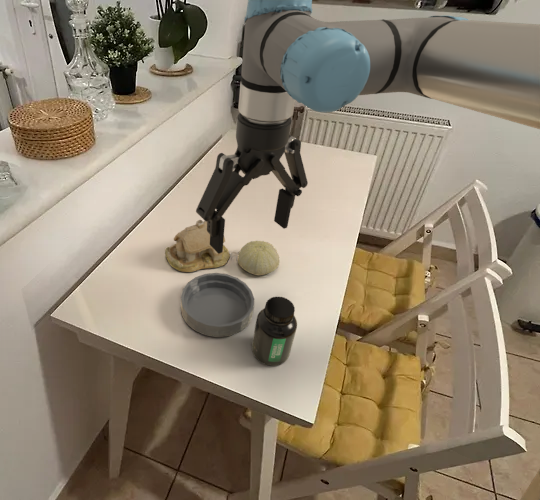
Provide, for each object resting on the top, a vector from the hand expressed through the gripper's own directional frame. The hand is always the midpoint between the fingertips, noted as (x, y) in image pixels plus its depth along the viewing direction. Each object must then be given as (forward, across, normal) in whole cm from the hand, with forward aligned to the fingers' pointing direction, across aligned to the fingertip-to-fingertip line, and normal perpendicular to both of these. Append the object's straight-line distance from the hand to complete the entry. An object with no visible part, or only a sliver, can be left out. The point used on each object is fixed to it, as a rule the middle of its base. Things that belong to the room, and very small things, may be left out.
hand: (249, 236), depth 73 cm
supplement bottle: (+20, 0, +10) cm, 22 cm away
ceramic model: (+19, -2, -19) cm, 27 cm away
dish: (+19, +4, -3) cm, 20 cm away
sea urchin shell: (+19, -12, -10) cm, 25 cm away
